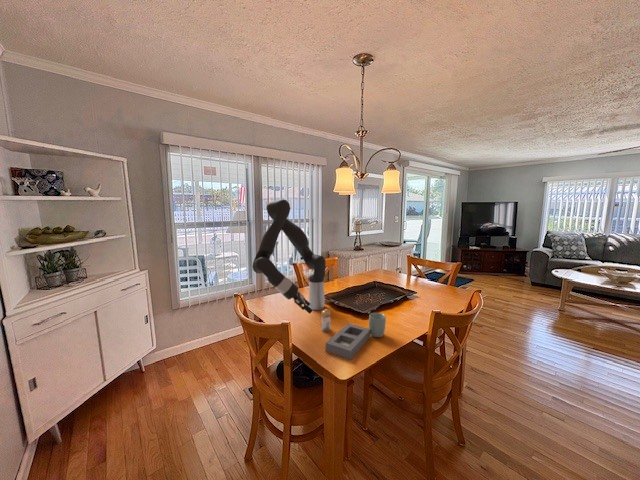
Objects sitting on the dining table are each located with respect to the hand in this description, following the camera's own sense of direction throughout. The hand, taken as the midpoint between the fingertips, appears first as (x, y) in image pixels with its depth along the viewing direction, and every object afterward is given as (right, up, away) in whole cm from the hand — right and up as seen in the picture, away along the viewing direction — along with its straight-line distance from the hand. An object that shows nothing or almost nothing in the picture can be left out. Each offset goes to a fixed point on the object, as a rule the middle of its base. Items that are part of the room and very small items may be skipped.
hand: (310, 308), depth 129 cm
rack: (+18, -13, -11) cm, 25 cm away
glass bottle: (+8, -12, +3) cm, 14 cm away
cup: (+32, -12, -3) cm, 35 cm away
